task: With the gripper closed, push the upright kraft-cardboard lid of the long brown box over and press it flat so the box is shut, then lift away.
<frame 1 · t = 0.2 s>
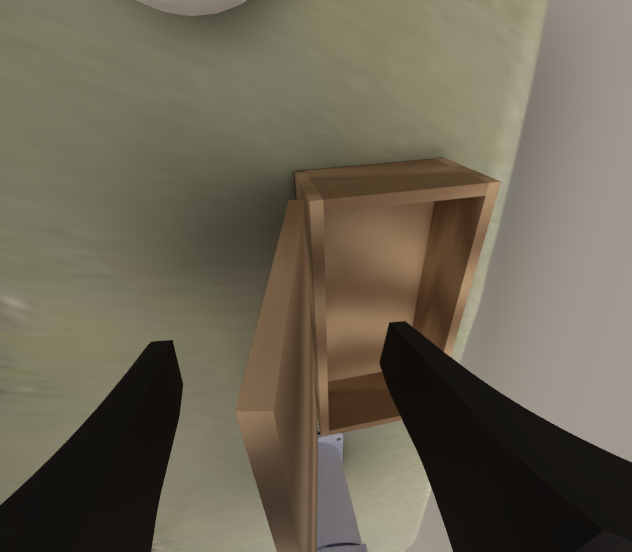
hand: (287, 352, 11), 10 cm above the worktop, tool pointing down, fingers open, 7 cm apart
box: (363, 291, 23), on the worktop
lid: (302, 437, 14), point 10 cm above the worktop, hinge at 101.8°
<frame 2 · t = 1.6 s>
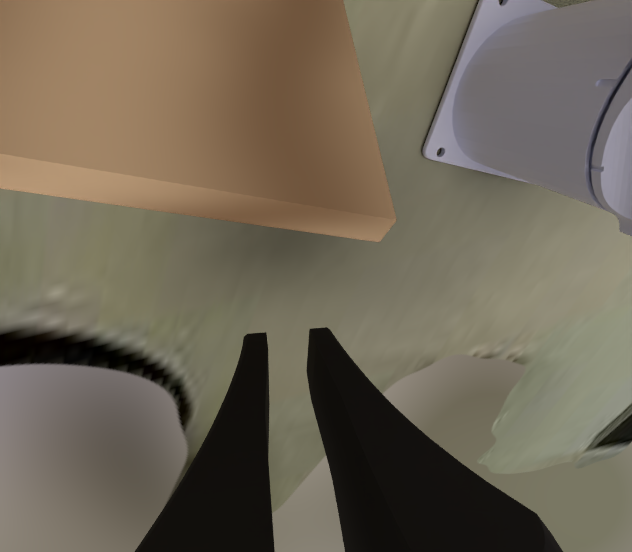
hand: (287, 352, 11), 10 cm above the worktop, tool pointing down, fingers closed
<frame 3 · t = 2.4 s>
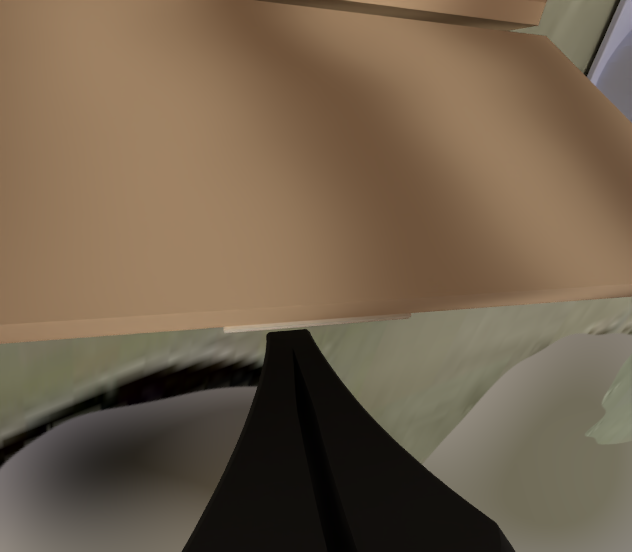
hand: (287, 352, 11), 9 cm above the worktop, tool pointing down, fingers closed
lid: (293, 117, 7), point 9 cm above the worktop, hinge at 118.1°
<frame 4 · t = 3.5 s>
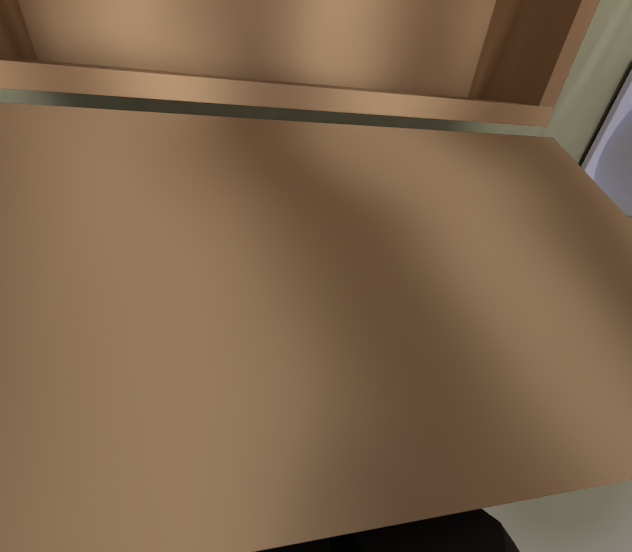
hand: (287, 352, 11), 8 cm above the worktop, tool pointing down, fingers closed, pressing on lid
lid: (308, 255, 7), point 10 cm above the worktop, hinge at 112.8°, touching gripper
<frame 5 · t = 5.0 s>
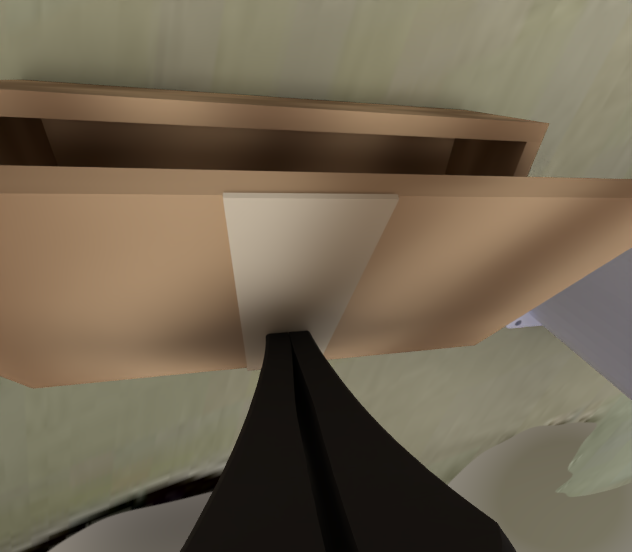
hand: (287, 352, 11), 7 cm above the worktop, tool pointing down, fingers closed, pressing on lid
box: (273, 201, 15), on the worktop
lid: (291, 308, 9), point 8 cm above the worktop, hinge at 25.3°, touching gripper
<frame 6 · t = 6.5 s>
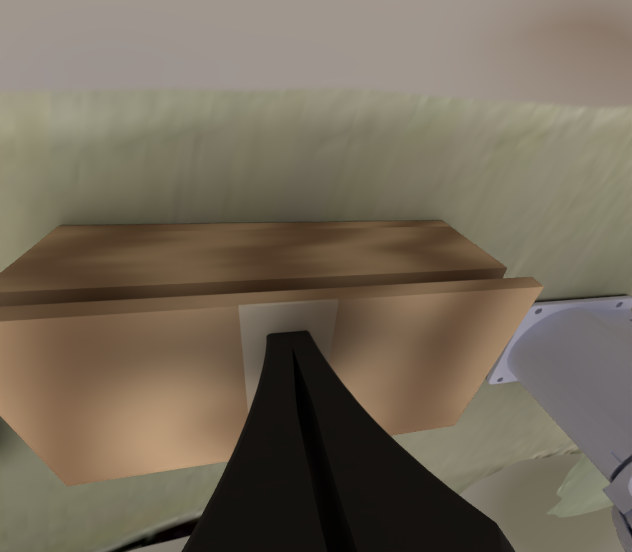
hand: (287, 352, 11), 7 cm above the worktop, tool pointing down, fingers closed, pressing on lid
box: (273, 298, 17), on the worktop
lid: (285, 389, 12), point 6 cm above the worktop, hinge at 4.1°, touching gripper
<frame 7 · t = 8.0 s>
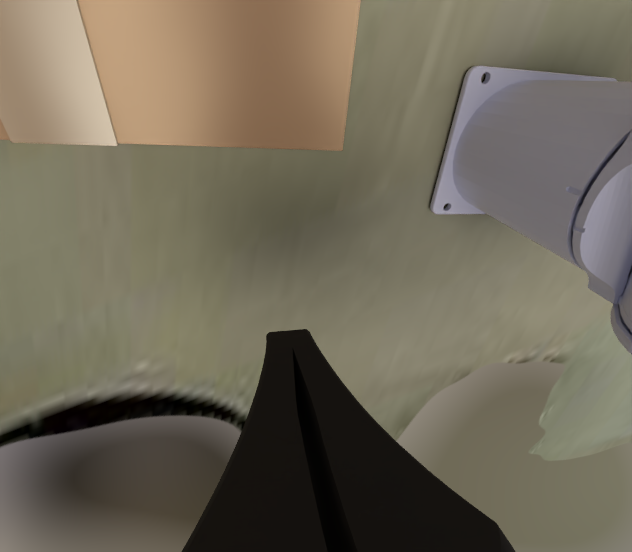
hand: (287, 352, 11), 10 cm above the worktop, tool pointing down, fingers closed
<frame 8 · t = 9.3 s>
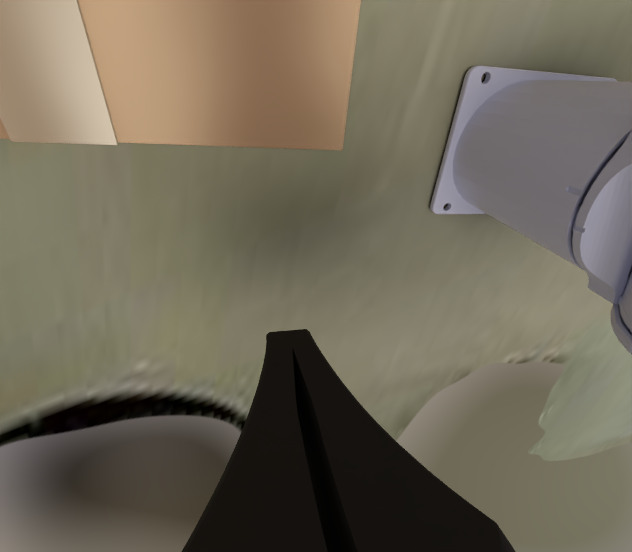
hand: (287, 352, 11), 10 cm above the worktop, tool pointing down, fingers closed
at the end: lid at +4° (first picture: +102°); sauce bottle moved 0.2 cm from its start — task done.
